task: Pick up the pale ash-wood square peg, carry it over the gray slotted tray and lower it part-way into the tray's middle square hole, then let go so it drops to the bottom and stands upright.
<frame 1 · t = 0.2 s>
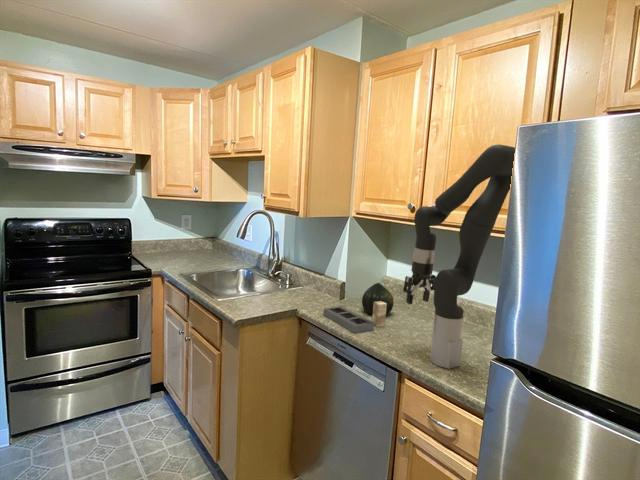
hand: (417, 302, 141), 17 cm above the counter, tool pointing down, fingers open, 8 cm apart
square peg: (378, 324, 165), on the counter
squash: (376, 313, 181), on the counter
gray slotted tray: (347, 322, 165), on the counter
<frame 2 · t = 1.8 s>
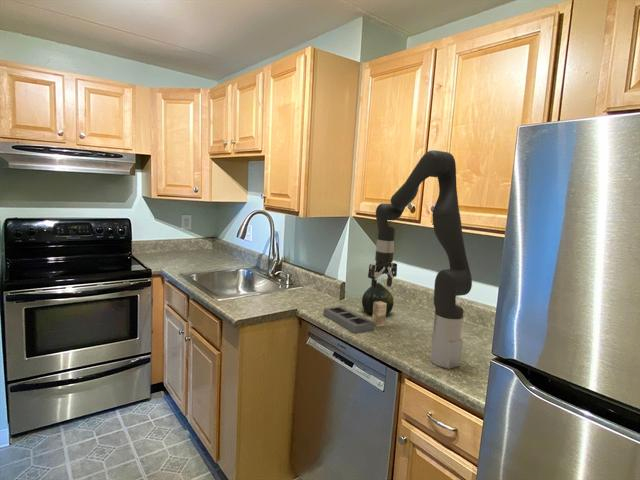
hand: (381, 287, 162), 17 cm above the counter, tool pointing down, fingers open, 8 cm apart
nothing on the counter moved.
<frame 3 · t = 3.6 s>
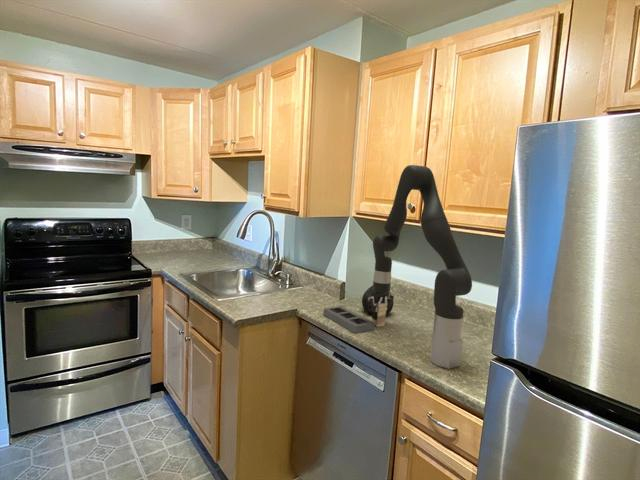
hand: (378, 318, 164), 3 cm above the counter, tool pointing down, fingers closed on square peg, 4 cm apart
square peg: (378, 324, 165), on the counter, touching gripper
everything else where it was.
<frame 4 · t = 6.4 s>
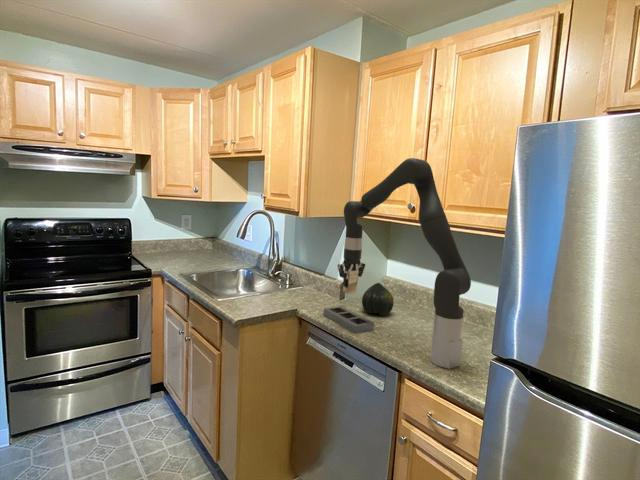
hand: (350, 286, 163), 16 cm above the counter, tool pointing down, fingers closed on square peg, 4 cm apart
square peg: (349, 292, 164), point 13 cm above the counter, touching gripper
everything else where it was.
when the fingers open (4 cm above the counter, at t = 9.0 s): square peg drops 1 cm, resting in gray slotted tray.
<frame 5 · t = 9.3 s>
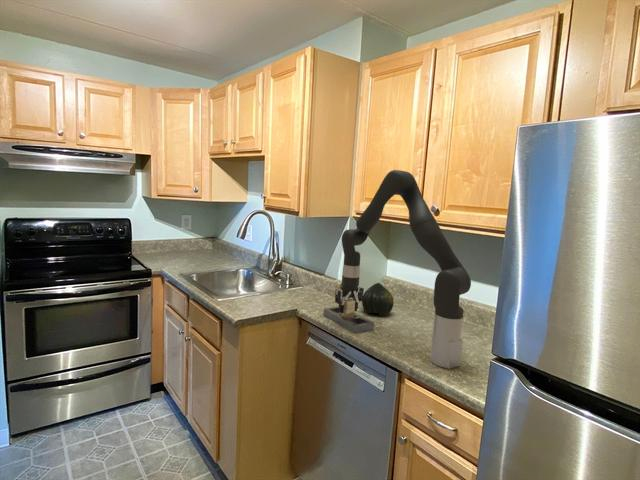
hand: (348, 311, 165), 5 cm above the counter, tool pointing down, fingers open, 7 cm apart
square peg: (347, 322, 165), resting in gray slotted tray
everything else where it was.
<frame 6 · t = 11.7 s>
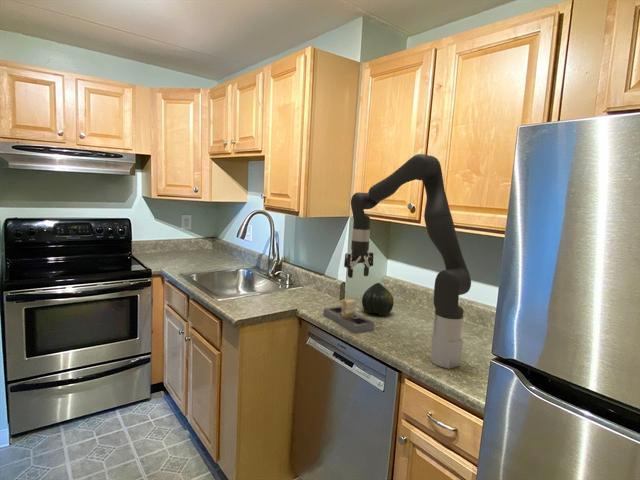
hand: (358, 276, 162), 21 cm above the counter, tool pointing down, fingers open, 8 cm apart
nothing on the counter moved.
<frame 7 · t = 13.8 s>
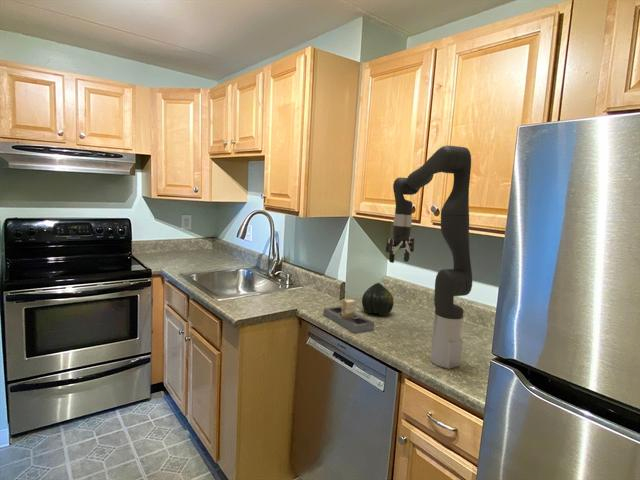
hand: (398, 261, 163), 28 cm above the counter, tool pointing down, fingers open, 8 cm apart
nothing on the counter moved.
at the end: square peg 0.1 cm off-centre on the gray slotted tray, point 0.0 cm above the gray slotted tray's base; square peg tilted 0°; the gripper is holding nothing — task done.
